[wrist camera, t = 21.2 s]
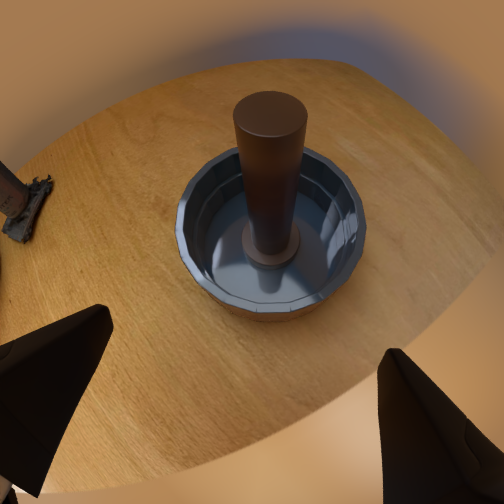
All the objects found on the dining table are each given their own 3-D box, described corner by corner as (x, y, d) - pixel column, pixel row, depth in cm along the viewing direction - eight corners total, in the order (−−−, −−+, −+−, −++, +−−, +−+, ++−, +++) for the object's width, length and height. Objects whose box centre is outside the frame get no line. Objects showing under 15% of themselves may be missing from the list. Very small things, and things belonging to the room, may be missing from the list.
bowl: (368, 229, 22) (392, 196, 17) (291, 354, 19) (299, 355, 14) (253, 162, 25) (249, 120, 20) (167, 263, 22) (139, 238, 17)
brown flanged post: (281, 280, 21) (297, 174, 8) (231, 252, 22) (187, 129, 9) (308, 233, 22) (344, 102, 9) (260, 209, 23) (251, 71, 10)
